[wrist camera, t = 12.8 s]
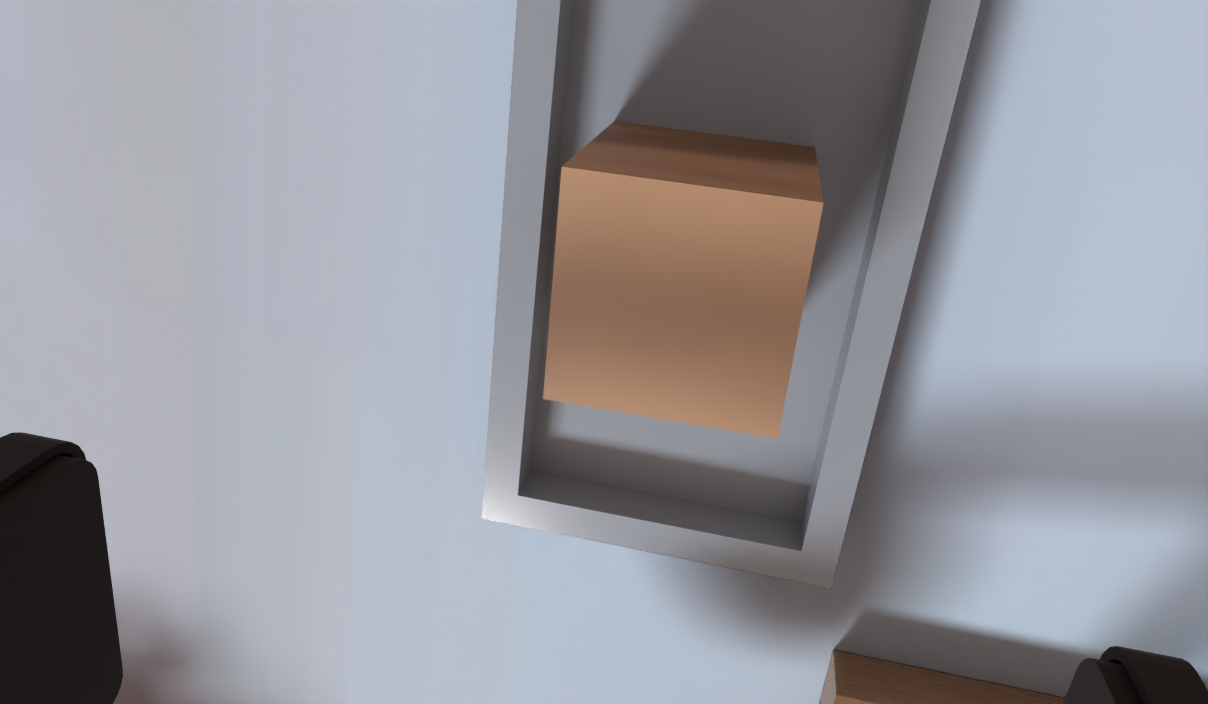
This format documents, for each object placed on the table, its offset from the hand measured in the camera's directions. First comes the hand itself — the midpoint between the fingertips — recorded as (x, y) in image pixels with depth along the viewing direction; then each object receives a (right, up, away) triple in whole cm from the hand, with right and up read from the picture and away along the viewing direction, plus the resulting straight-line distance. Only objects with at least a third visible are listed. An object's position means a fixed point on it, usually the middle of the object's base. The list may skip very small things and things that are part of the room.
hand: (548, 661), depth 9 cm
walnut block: (+3, +6, +15) cm, 17 cm away
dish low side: (+3, +6, +16) cm, 18 cm away
